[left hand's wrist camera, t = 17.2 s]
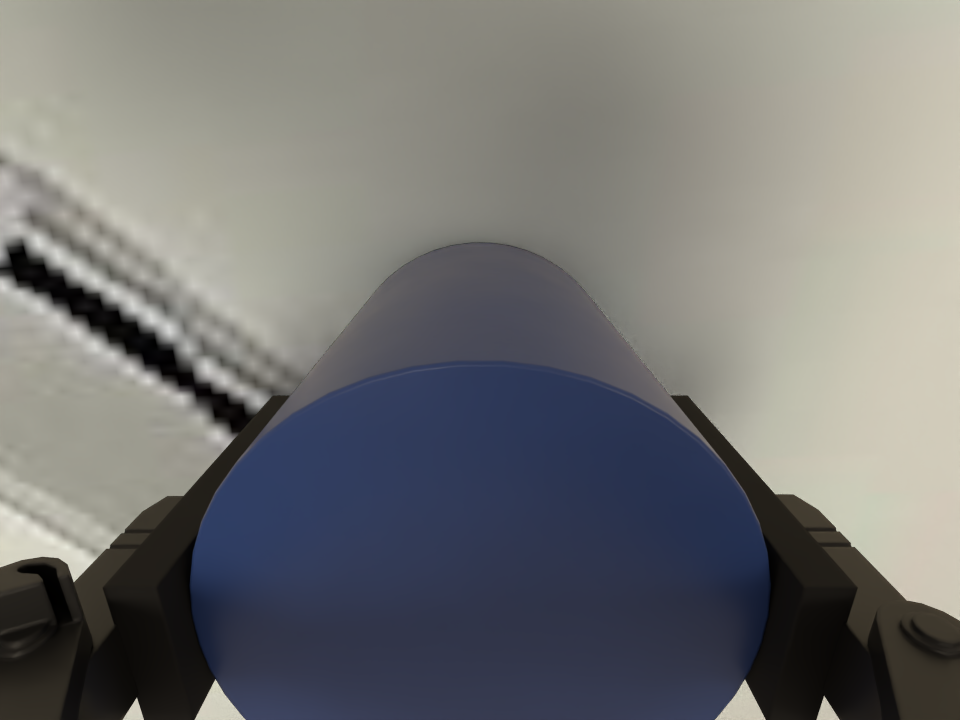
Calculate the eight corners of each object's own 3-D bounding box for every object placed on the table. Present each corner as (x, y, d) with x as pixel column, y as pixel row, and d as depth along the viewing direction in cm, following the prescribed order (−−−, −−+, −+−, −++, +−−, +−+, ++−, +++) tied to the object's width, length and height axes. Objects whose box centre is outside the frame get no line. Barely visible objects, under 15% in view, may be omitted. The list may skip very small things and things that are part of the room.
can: (336, 463, 20) (185, 779, 10) (366, 216, 17) (189, 300, 6) (572, 503, 20) (664, 840, 10) (644, 272, 17) (877, 429, 7)
